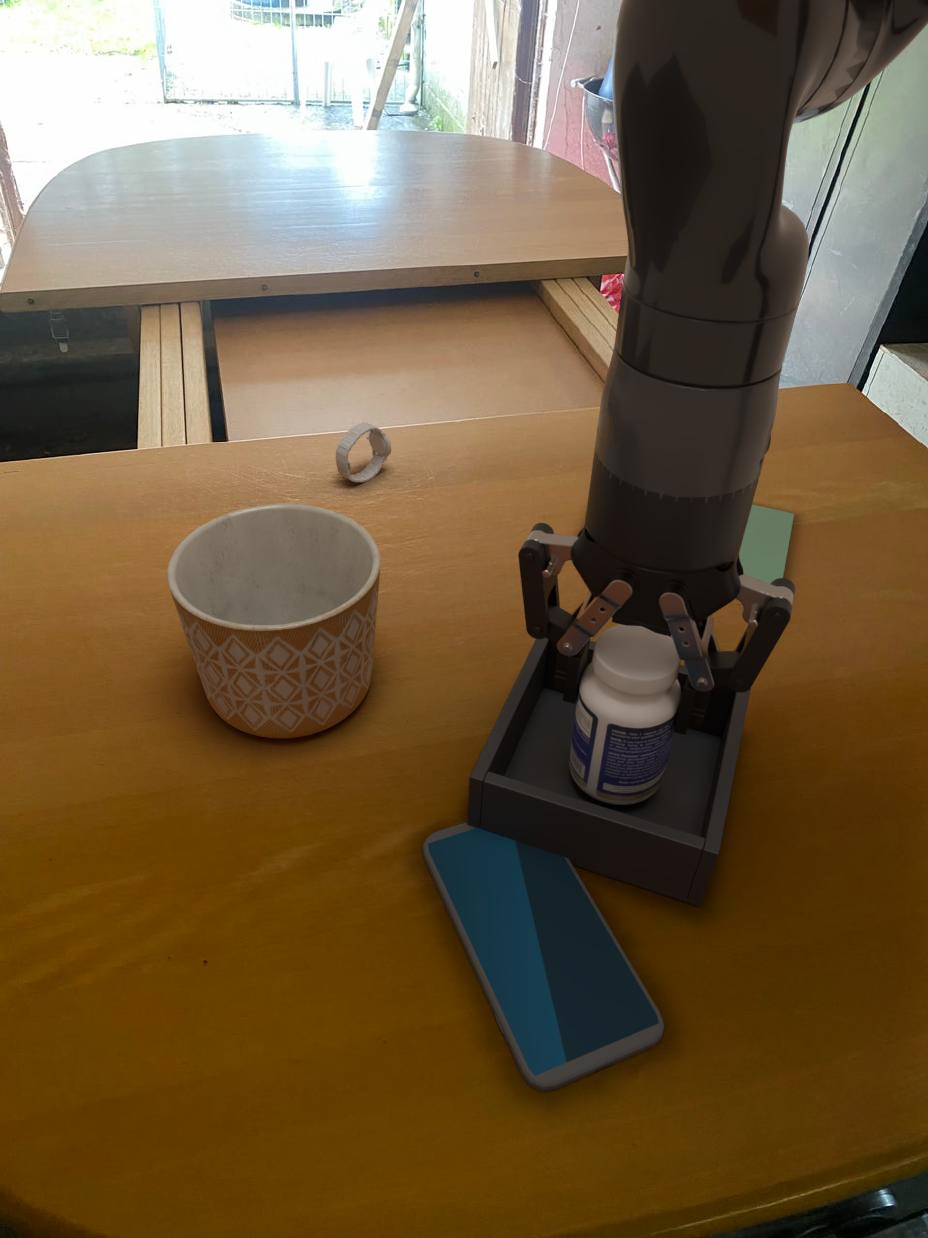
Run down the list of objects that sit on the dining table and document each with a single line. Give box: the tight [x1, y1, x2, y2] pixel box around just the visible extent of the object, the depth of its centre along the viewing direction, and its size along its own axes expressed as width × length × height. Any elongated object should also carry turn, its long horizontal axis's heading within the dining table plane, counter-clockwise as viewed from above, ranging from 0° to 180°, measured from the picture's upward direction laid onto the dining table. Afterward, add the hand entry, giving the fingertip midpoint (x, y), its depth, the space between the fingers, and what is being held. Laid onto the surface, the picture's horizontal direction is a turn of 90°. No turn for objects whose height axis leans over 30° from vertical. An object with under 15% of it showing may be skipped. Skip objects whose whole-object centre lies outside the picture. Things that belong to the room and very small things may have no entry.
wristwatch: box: [335, 422, 392, 483], centre depth 81 cm, size 3×5×5 cm, turn 139°
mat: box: [739, 504, 795, 584], centre depth 77 cm, size 16×12×1 cm
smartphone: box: [422, 821, 665, 1093], centre depth 48 cm, size 8×15×1 cm, turn 23°
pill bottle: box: [569, 624, 682, 805], centre depth 53 cm, size 6×6×10 cm
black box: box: [466, 638, 752, 908], centre depth 55 cm, size 14×14×5 cm
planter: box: [166, 503, 382, 739], centre depth 59 cm, size 13×13×10 cm
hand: (627, 707), depth 52 cm, fingers closed on pill bottle, 5 cm apart
